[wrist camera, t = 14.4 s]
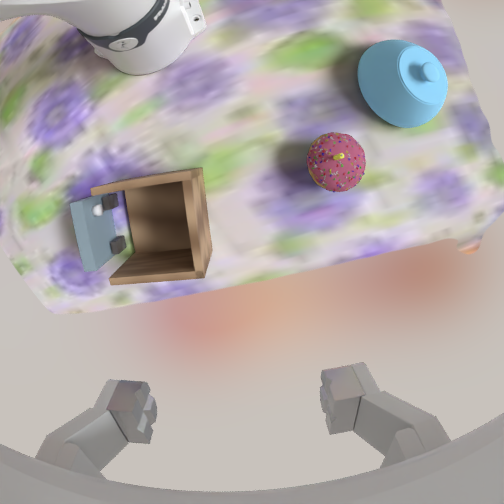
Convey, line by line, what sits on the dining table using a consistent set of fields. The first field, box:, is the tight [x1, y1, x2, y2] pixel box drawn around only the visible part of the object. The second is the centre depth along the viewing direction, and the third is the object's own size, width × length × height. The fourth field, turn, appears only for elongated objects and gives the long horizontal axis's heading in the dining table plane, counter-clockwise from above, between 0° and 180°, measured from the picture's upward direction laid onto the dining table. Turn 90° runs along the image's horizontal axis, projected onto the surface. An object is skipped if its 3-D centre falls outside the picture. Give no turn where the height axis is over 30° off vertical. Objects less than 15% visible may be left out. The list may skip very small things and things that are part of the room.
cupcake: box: [307, 132, 366, 192], centre depth 37 cm, size 9×8×12 cm
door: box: [70, 193, 117, 272], centre depth 40 cm, size 10×3×9 cm, turn 5°
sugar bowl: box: [358, 40, 448, 128], centre depth 33 cm, size 15×15×12 cm
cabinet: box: [90, 168, 212, 285], centre depth 39 cm, size 13×20×11 cm, turn 95°
